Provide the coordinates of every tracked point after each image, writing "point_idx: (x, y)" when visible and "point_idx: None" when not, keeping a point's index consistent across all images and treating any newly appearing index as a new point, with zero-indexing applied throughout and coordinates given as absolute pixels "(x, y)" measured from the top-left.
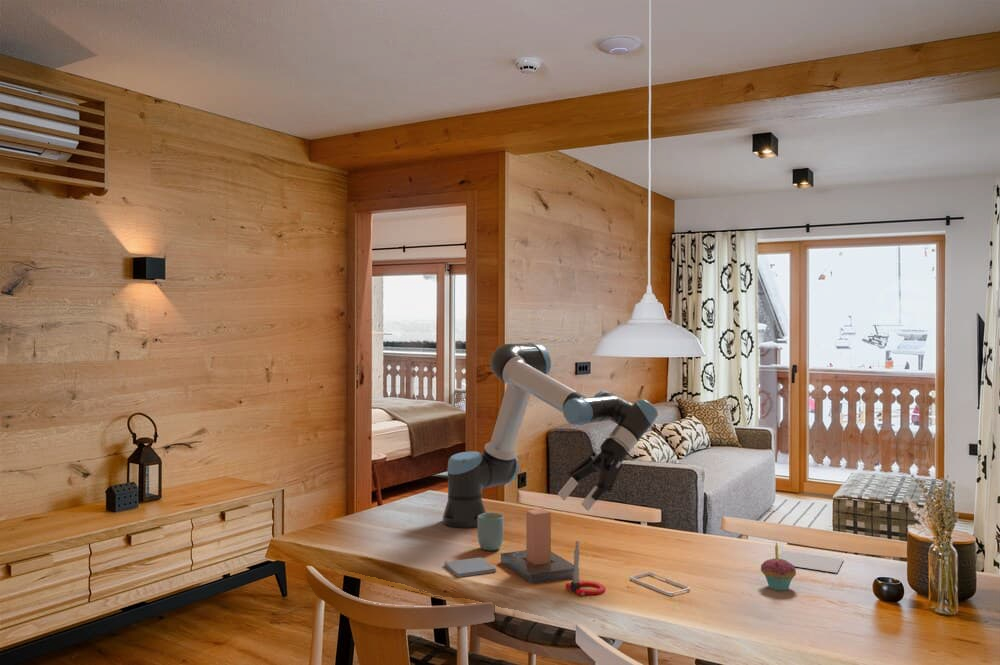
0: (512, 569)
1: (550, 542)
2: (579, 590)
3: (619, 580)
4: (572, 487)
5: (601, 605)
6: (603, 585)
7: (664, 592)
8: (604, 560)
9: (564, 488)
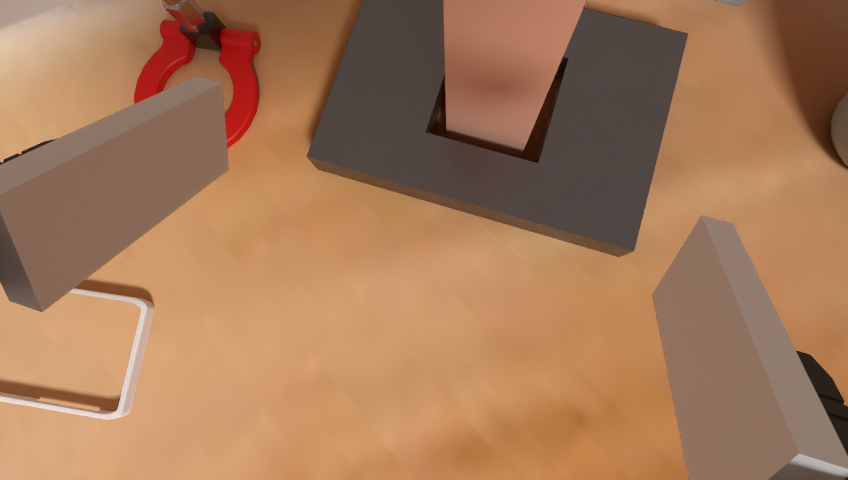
0: None
1: (445, 76)
2: (176, 23)
3: (178, 262)
4: (693, 409)
5: (77, 25)
6: None
7: None
8: (392, 426)
9: (720, 284)
